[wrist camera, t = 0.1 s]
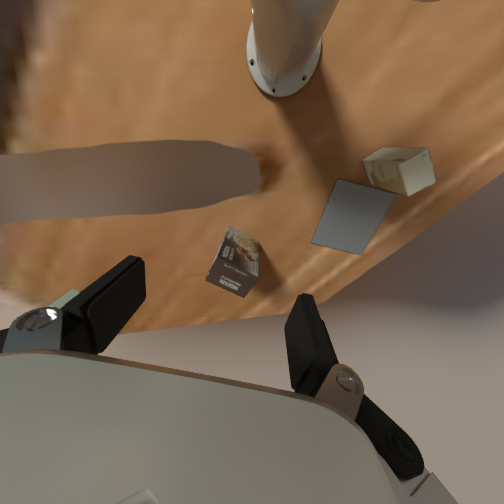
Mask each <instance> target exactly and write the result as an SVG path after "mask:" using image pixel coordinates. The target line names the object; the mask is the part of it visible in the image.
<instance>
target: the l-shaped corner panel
mask: <svg viewBox="0 0 504 504" xmlns="http://www.w3.org/2000/svg"><path fill="white" fill-rule="evenodd" d="M78 294H79V292H78V291H76V290H75V289H72V290H71V291H69V292H68V293H66V294H65V295H64V296H62V297H61V298H59V299H58V300H57V301H55V302H54V303H52V304H51V305H50V306H49V307H57V308H59V309H60V308H62V307H63V306H64V305H65V304H66V303H67V302H68V301H70V300H71V299H72V298H74V297H75V296H76V295H78Z"/></svg>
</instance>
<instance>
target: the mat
mask: <svg viewBox="0 0 504 504" xmlns="http://www.w3.org/2000/svg"><path fill="white" fill-rule="evenodd" d="M396 195H397V194H393V193H389V192H386V191H382V190H378V189H374V188H370V187H366V186H363V185H359V184H355V183H351V182H347V181H344V180H340V179H337V181H336V184H335V186H334V189H333V191H332V193H331V196H330V198H329V200H328V203H327V205H326V208H325V210H324V212H323V215H322V217H321V219H320V222H319V224H318V227H317V229H316V231H315V234H314V236H313V238H312V241H311V243H314V244H318V245H322V246H326V247H330V248H334V249H339V250H343V251H347V252H351V253H355V254H360V255H362V253H363V252H364V250H365V248H366V247H367V245H368V243H369V241H370V240H371V238H372V236H373V235H374V233H375V231H376V229H377V228H378V226H379V224H380V223H381V221H382V219H383V217H384V216H385V214H386V212H387V211H388V209H389V207H390V205H391V204H392V202H393V200H394V199H395V197H396Z"/></svg>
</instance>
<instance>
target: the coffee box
mask: <svg viewBox="0 0 504 504" xmlns="http://www.w3.org/2000/svg"><path fill="white" fill-rule="evenodd" d="M258 267H259V242H258V241H256V240H254V239H252V238H251V237H249V236H247V235H245V234H243V233H241V232H239V231H237V230H236V229H234V228H232V227H229V228H228V229H227V231H226V233H225V235H224V237H223V239H222V241H221V244H220V247H219V249H218V251H217V254H216V256H215V258H214V261H213V263H212V265H211V268H210V270H209V272H208V275H207V277H206V281H208V282H210V283H212V284H214V285H216V286H219V287H221V288H223V289H225V290H228V291H230V292H232V293H234V294H236V295H238V296H241V297H243V298H245V296H246V295H247V294H248V292H249V291H250V290H251V288H252V287H253V285H254V283H255V281H256V280H257V278H258Z"/></svg>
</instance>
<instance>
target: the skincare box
mask: <svg viewBox="0 0 504 504" xmlns="http://www.w3.org/2000/svg"><path fill="white" fill-rule="evenodd" d="M363 164H364V167H365V170H366V173H367V176H368V178H369V181H370V183H371V185H374V186H377V187H380V188H383V189H386V190H390V191H393V192H396V193H399V194H402V195H405V196H411V195H413V194H415V193H417V192H419V191H421V190H423V189H425V188H427V187H429V186H431V185H433V184H435V182H436V181H435V176H434V171H433V165H432V162H431V157H430V152H429V148H427V147H426V148H381V149H379V150H378V151H376V152H374V153H372V154H371V155H369V156H368V157H366V158H365V159H363Z"/></svg>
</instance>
